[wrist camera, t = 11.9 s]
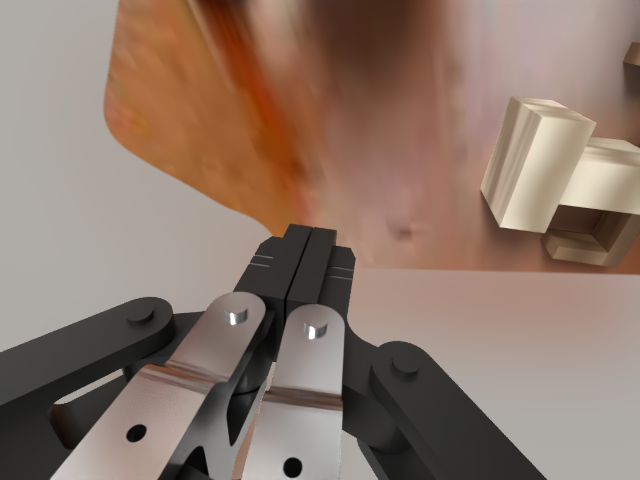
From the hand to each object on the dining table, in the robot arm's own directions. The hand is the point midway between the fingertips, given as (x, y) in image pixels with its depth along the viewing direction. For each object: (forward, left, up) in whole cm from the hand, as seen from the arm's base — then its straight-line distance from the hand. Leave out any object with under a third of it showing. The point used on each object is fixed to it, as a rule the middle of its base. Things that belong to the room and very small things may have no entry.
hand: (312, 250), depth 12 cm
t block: (-3, +20, -31) cm, 37 cm away
